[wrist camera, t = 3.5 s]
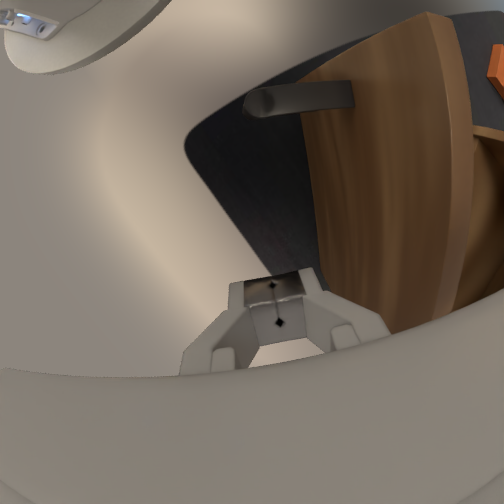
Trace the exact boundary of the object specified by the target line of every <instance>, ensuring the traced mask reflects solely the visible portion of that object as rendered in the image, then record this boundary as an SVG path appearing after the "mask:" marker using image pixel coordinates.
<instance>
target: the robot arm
mask: <svg viewBox="0 0 504 504" xmlns="http://www.w3.org/2000/svg"><path fill="white" fill-rule="evenodd" d="M100 1H101V0H0V28H2V29H5V30H9V31H13V32H17V33H21V34H24V35H28V36H31V37H34V38H37V39H41V40H44V41H48V40H50V39H51V38H53V37H54V36H55V35H56V34H57V33H58V32H59V31H60V30H61V29H62V28H63V27H64V26H65V25H66V24H67V23H68V22H70V21H71V20H73V19H75V18H76V17H78V16H80V15H82V14H83V13H85V12H86V11H88V10H89V9H91V8H92V7H94V6H95V5H96V4H98V3H99V2H100ZM305 337H307V338H308V339H309V340H310V341H311V342H313V343H314V344H315V345H316V346H318V347H319V348H320V349H321V350H322V351H324V352H325V354H320V355H316V356H312V357H307V358H302V359H297V360H292V361H287V362H282V363H276V364H270V365H265V366H259V367H252V368H248V367H249V365H250V363H251V362H252V360H253V358H254V357H255V355H256V353H257V351H258V349H259V346H264V345H269V344H273V343H279V342H283V341H288V340H295V339H300V338H305ZM0 504H504V288H503V289H501V290H499V291H497V292H495V293H493V294H491V295H489V296H487V297H485V298H483V299H481V300H479V301H477V302H475V303H472V304H470V305H468V306H466V307H464V308H461V309H459V310H457V311H454V312H452V313H449V314H447V315H445V316H442V317H440V318H437V319H435V320H432V321H429V322H427V323H424V324H421V325H419V326H416V327H413V328H410V329H407V330H404V331H401V332H398V333H395V334H392V335H391V333H390V331H389V329H388V328H387V326H386V325H385V323H384V321H383V320H382V318H381V316H380V315H379V314H378V313H375V312H373V311H371V310H369V309H366V308H364V307H362V306H360V305H358V304H355V303H353V302H351V301H349V300H347V299H344V298H342V297H340V296H338V295H336V294H333V293H331V292H329V291H323V290H322V288H321V286H320V284H319V281H318V279H317V277H316V275H315V273H314V271H313V268H311V267H310V268H306V269H301V270H297V271H293V272H289V273H284V274H280V275H275V276H269V277H263V278H257V279H252V280H246V281H240V282H235V283H230V285H229V297H228V310H225V311H223V312H222V313H221V314H220V315H219V316H218V318H216V319H215V320H214V322H212V323H211V324H210V325H209V326H208V327H207V328H206V330H205V331H204V332H203V333H202V334H201V335H200V336H199V337H198V338H197V339H196V340H195V341H194V342H193V343H192V344H191V345H190V346H189V347H188V348H187V349H186V350H185V351H184V352H183V356H182V361H181V366H180V372H179V376H163V377H129V378H128V377H126V378H123V377H122V378H119V377H113V378H112V377H84V376H68V375H55V374H46V373H37V372H30V371H22V370H16V369H11V368H4V369H2V370H0Z"/></svg>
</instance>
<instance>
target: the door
mask: <svg viewBox="0 0 504 504" xmlns="http://www.w3.org/2000/svg"><path fill="white" fill-rule="evenodd" d="M242 112H243V115H244V117H245V118H246V119H248V120H259V119H264V118H270V117H276V116H283V115H290V114H297V113H300V117H301V122H302V128H303V134H304V139H305V145H306V152H307V158H308V164H309V171H310V178H311V185H312V193H313V200H314V209H315V217H316V226H317V235H318V245H319V256H320V268H321V272H322V274H323V276H324V278H325V280H326V282H327V284H328V286H329V288H330V290H331V292H332V293H333V294H336V295H338V296H340V297H342V298H344V299H347V300H349V301H351V302H353V303H355V304H358V305H360V306H362V307H364V308H366V309H369V310H371V311H373V312H375V313H378V314H379V315H380V316H381V318H382V320H383V321H384V323H385V325H386V326H387V328H388V329H389V331H390V333H391V335H392V334H395V333H398V332H401V331H404V330H407V329H410V328H413V327H416V326H419V325H421V324H424V323H427V322H429V321H432V320H435V319H437V318H440V317H442V316H445V315H447V314H449V313H451V311H452V307H453V304H454V300H455V297H456V293H457V289H458V285H459V281H460V277H461V272H462V267H463V263H464V258H465V252H466V246H467V240H468V234H469V226H470V218H471V208H472V196H473V177H474V145H473V126H472V114H471V105H470V97H469V90H468V84H467V78H466V73H465V68H464V63H463V59H462V54H461V50H460V46H459V43H458V39H457V35H456V32H455V29H454V25H453V22H452V20H451V19H449V18H446V17H443V16H440V15H437V14H433V13H430V12H424V13H421V14H419V15H417V16H414V17H412V18H410V19H407V20H405V21H403V22H401V23H399V24H396V25H394V26H392V27H390V28H388V29H386V30H384V31H382V32H380V33H378V34H376V35H374V36H372V37H370V38H368V39H366V40H364V41H363V42H361V43H359V44H357V45H355V46H354V47H352V48H350V49H348V50H346V51H345V52H343V53H341V54H340V55H338V56H336V57H335V58H333V59H331V60H330V61H328V62H326V63H325V64H323V65H322V66H320V67H318V68H317V69H315V70H314V71H312V72H311V73H309V74H308V75H306V76H305V77H303V78H302V79H300V80H299V81H297V82H296V83H294V84H285V85H277V86H270V87H264V88H258V89H254V90H252V91H250V92H249V93H248V94H247V96H246V98H245V101H244V105H243V110H242Z"/></svg>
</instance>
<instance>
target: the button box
mask: <svg viewBox="0 0 504 504" xmlns="http://www.w3.org/2000/svg"><path fill="white" fill-rule="evenodd" d="M487 78H488V79H489V80H490V82H491V83H492V84H493V86H494V87H495V88H496V90H497V91H498V92H499V94H500V95H501V97H502V98H503V99H504V46H503V45H502V44H498V45H493V49H492V54H491V59H490V64H489V69H488V73H487Z"/></svg>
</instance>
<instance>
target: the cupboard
mask: <svg viewBox="0 0 504 504" xmlns="http://www.w3.org/2000/svg"><path fill="white" fill-rule="evenodd" d="M472 126H473V145H474V177H473V196H472V208H471V218H470V226H469V234H468V240H467V246H466V252H465V258H464V263H463V267H462V272H461V277H460V281H459V285H458V289H457V293H456V297H455V300H454V304H453V307H452V311H451V313H452V312H454V311H457V310H459V309H461V308H464V307H466V306H468V305H470V304H472V303H475V302H477V301H479V300H481V299H483V298H485V297H487V296H489V295H491V294H493V293H495V292H497V291H499V290H501V289H503V288H504V131H500V130H495V129H491V128H486V127H481V126H476V125H472Z"/></svg>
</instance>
